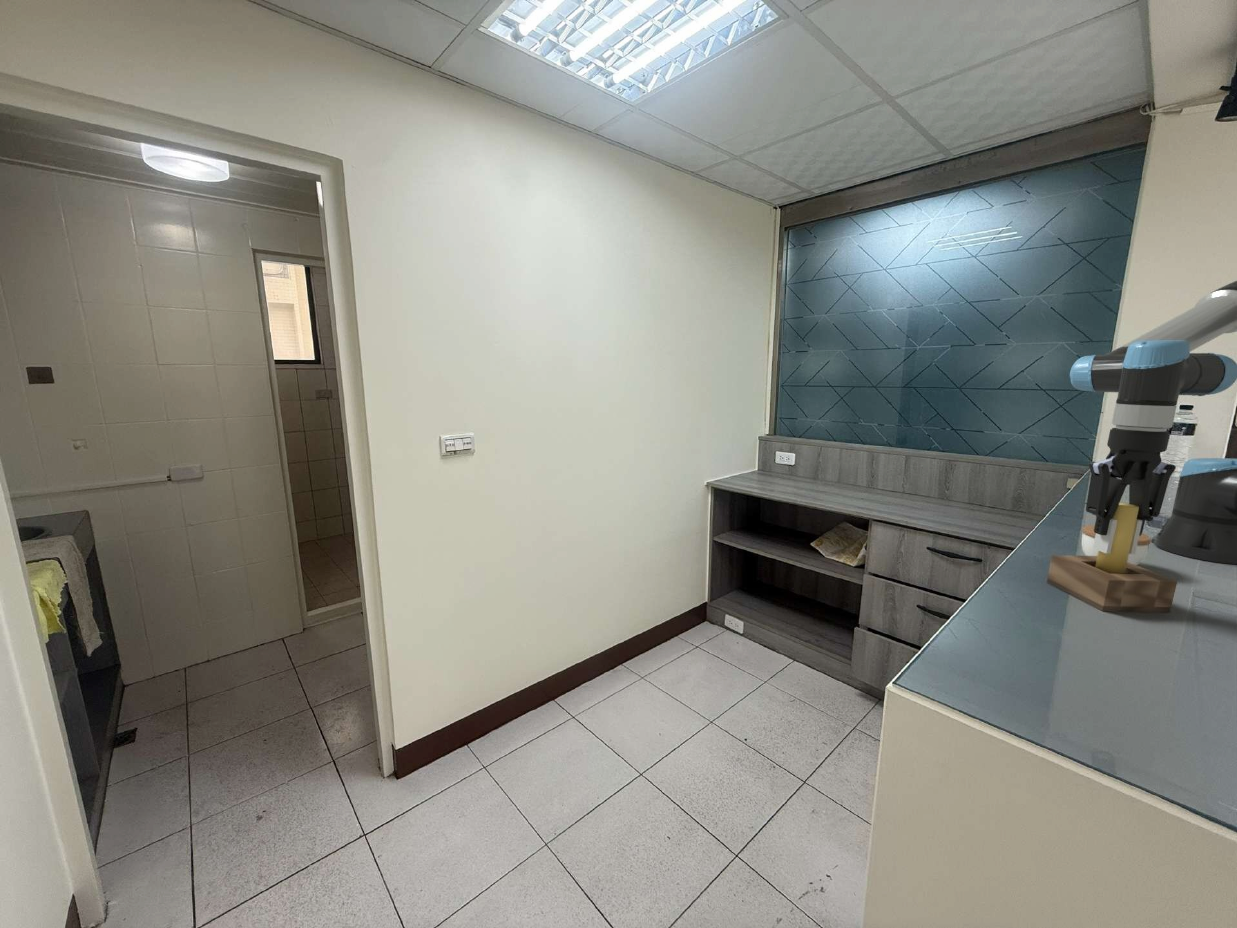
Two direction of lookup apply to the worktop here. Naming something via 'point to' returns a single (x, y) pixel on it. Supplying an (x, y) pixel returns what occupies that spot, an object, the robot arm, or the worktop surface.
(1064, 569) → the socket block
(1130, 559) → the lidded jar
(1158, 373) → the robot arm
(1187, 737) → the worktop surface
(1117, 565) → the dowel
